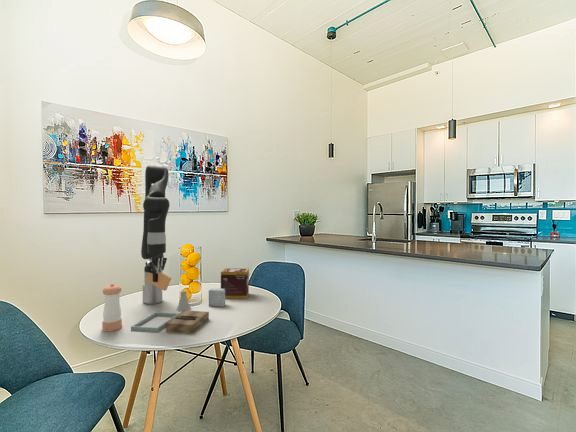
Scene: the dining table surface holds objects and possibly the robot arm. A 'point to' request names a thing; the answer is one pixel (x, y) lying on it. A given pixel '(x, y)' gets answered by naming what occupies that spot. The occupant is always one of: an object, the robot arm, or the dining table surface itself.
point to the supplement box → (235, 283)
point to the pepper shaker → (112, 309)
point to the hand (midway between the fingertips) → (156, 281)
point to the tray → (150, 329)
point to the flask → (183, 302)
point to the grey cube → (217, 297)
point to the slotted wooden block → (187, 321)
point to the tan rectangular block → (159, 280)
